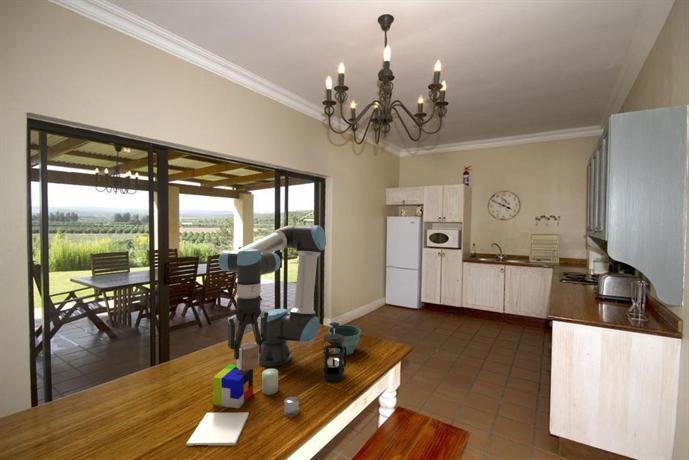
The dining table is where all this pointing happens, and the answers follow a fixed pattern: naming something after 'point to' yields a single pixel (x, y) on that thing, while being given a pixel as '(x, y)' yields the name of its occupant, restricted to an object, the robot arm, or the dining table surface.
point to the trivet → (219, 429)
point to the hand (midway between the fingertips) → (247, 365)
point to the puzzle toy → (232, 386)
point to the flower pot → (347, 337)
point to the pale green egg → (269, 381)
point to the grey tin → (291, 406)
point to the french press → (334, 363)
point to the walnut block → (249, 356)
